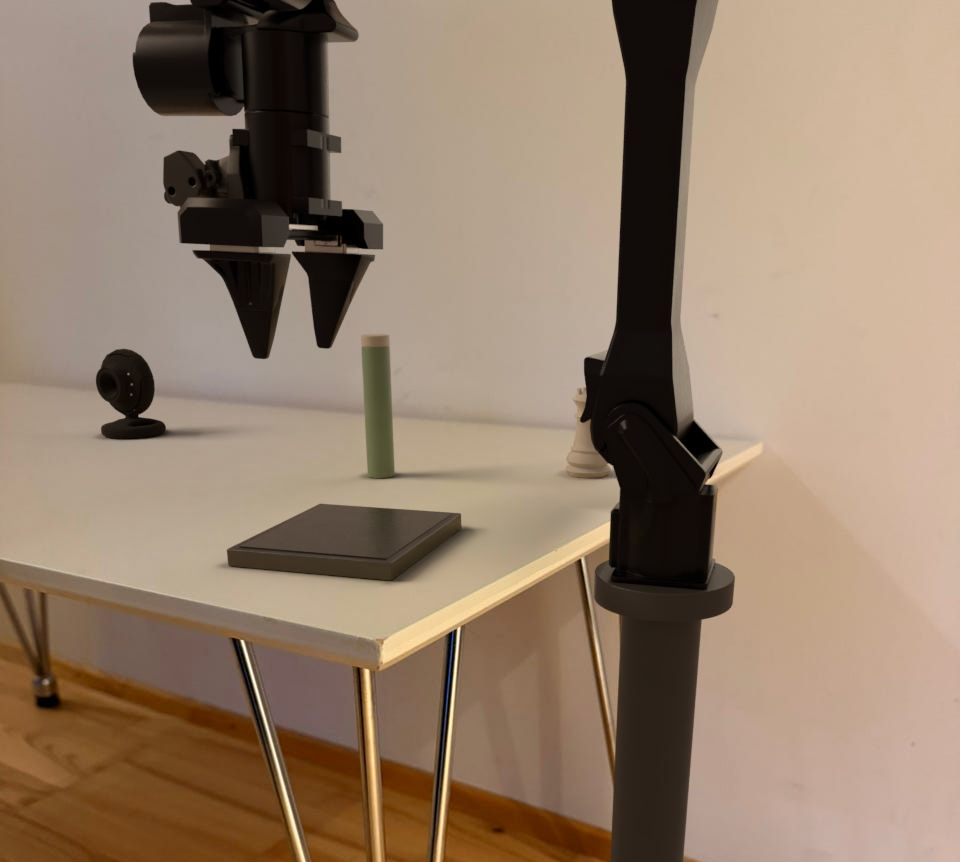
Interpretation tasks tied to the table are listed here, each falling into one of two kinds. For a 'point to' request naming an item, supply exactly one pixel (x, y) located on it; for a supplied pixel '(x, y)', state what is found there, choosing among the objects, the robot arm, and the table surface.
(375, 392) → the green cylinder
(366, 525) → the plate
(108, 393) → the webcam
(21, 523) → the table surface
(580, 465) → the rook chess piece
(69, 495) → the table surface
